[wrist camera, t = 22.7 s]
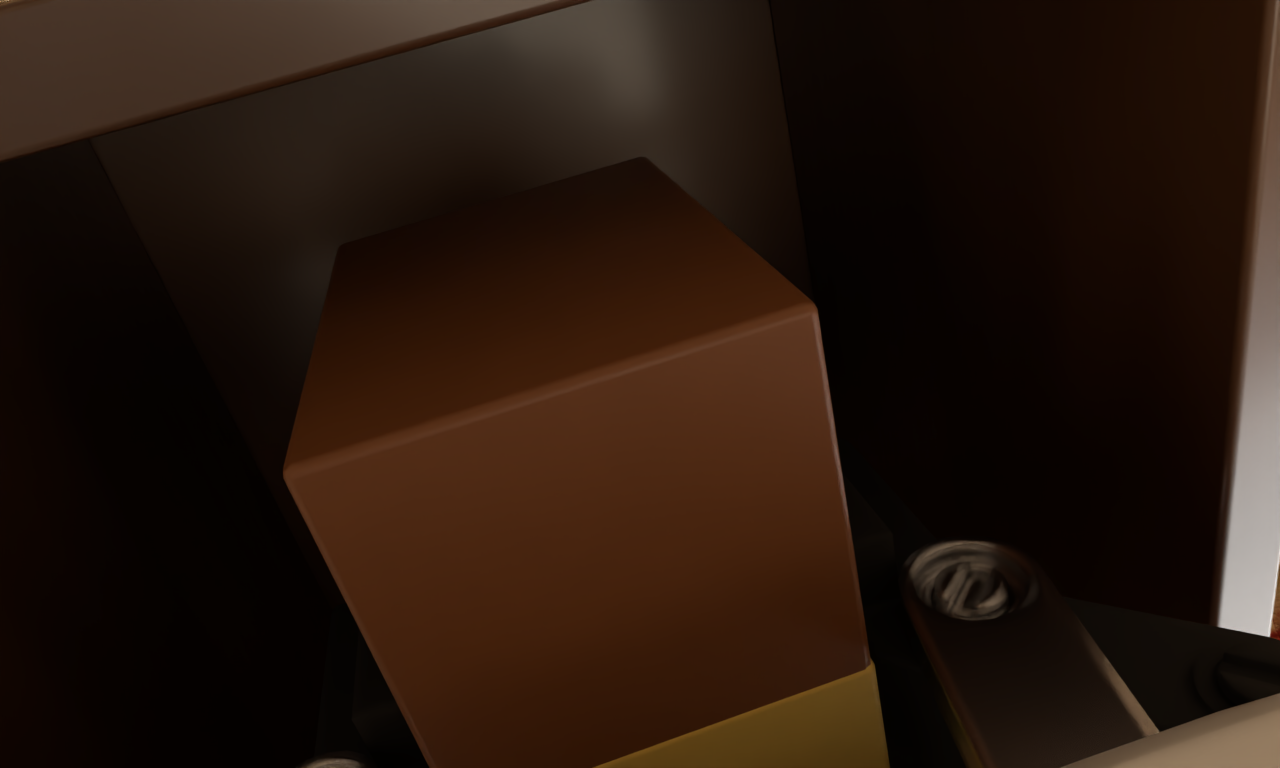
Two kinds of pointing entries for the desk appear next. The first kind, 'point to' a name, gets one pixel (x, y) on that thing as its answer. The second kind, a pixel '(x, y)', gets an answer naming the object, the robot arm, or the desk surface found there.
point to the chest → (717, 179)
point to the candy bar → (588, 487)
